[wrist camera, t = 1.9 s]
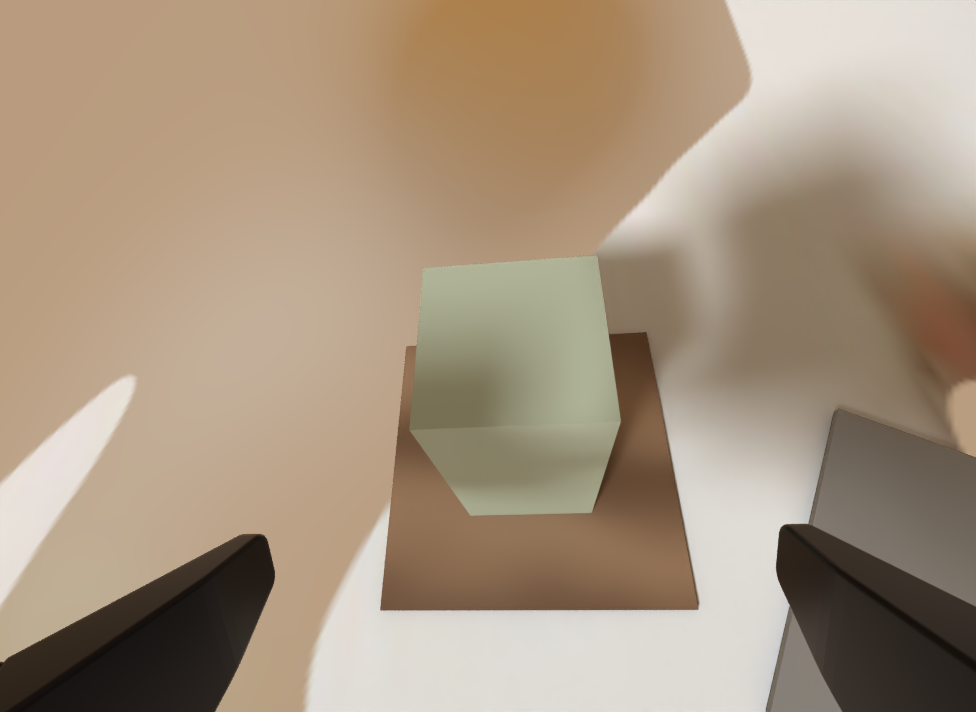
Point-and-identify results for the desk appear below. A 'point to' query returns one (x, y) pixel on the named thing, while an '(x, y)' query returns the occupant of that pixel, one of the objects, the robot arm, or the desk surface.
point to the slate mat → (885, 528)
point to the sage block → (516, 384)
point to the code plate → (546, 524)
